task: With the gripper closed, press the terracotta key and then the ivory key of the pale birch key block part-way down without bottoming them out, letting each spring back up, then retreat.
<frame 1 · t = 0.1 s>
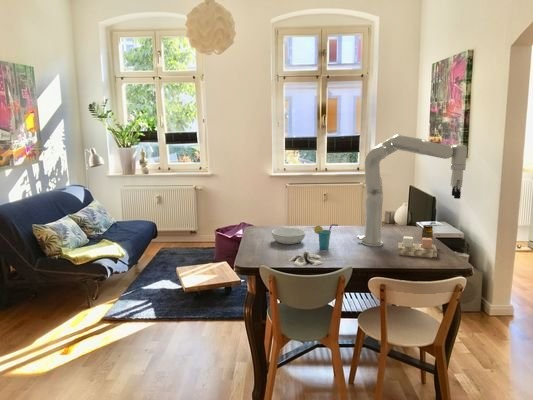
hand: (455, 197, 240), 31 cm above the table, fingers open, 9 cm apart
condiment: (425, 245, 255), on the table
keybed: (416, 253, 239), on the table
ivory key: (408, 242, 240), point 6 cm above the table, slide at 0.0 cm
terracotta key: (426, 244, 237), point 6 cm above the table, slide at 0.0 cm
cup: (325, 249, 248), on the table
serving bowl: (288, 242, 262), on the table
cloth: (303, 262, 227), on the table
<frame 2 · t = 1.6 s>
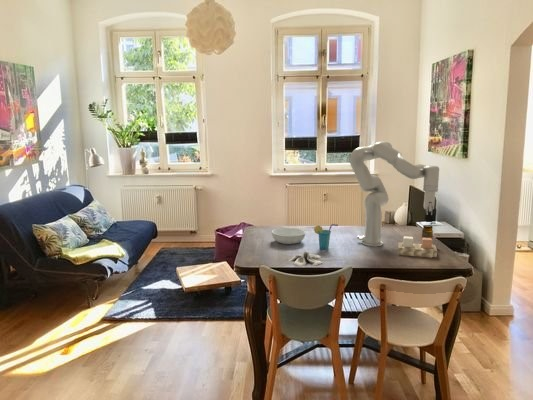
hand: (428, 220, 234), 19 cm above the table, fingers open, 4 cm apart
nothing on the table moved.
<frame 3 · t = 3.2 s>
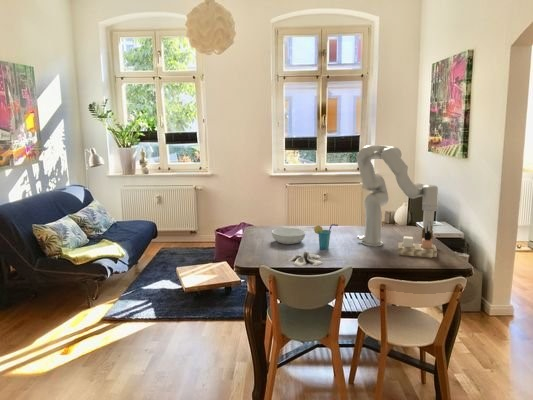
hand: (427, 239, 236), 8 cm above the table, fingers closed
terracotta key: (426, 244, 237), point 5 cm above the table, slide at 0.4 cm, touching gripper
everything else where it was.
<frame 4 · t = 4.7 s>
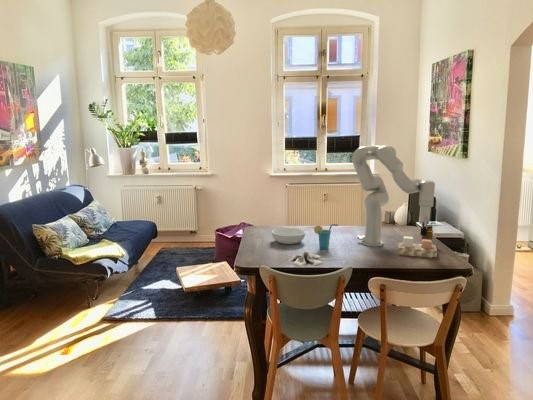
hand: (423, 235, 237), 11 cm above the table, fingers closed
terracotta key: (426, 245, 237), point 5 cm above the table, slide at 1.0 cm
everything else where it was.
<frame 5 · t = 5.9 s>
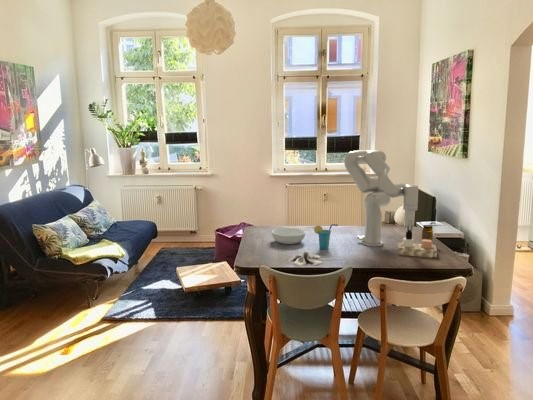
hand: (408, 238, 239), 8 cm above the table, fingers closed
ivory key: (407, 244, 240), point 5 cm above the table, slide at 0.7 cm, touching gripper
everything else where it was.
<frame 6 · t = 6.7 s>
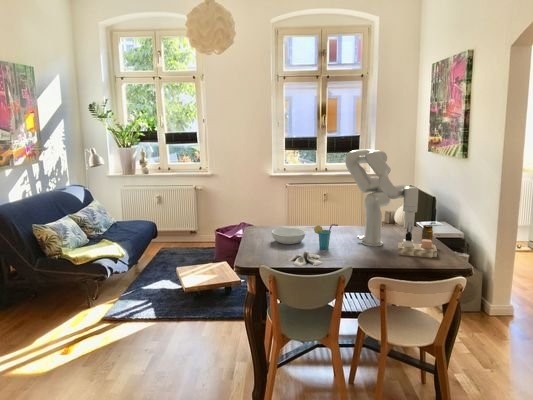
hand: (408, 240, 239), 7 cm above the table, fingers closed
ivory key: (407, 245, 240), point 4 cm above the table, slide at 1.7 cm, touching gripper
everything else where it was.
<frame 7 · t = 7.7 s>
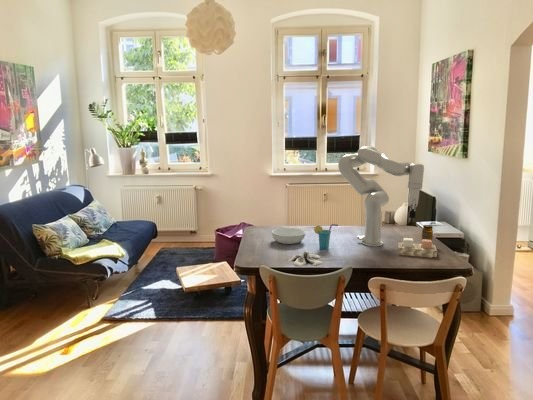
hand: (412, 217, 239), 20 cm above the table, fingers closed
ivory key: (407, 244, 240), point 5 cm above the table, slide at 1.0 cm
everything else where it was.
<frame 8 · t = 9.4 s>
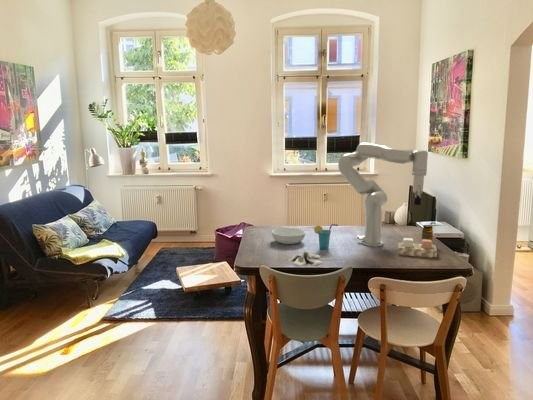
hand: (417, 204, 239), 27 cm above the table, fingers closed
nothing on the table moved.
at the end: ivory key slide at 1.0 cm; terracotta key slide at 1.0 cm; ivory key touching nothing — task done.
